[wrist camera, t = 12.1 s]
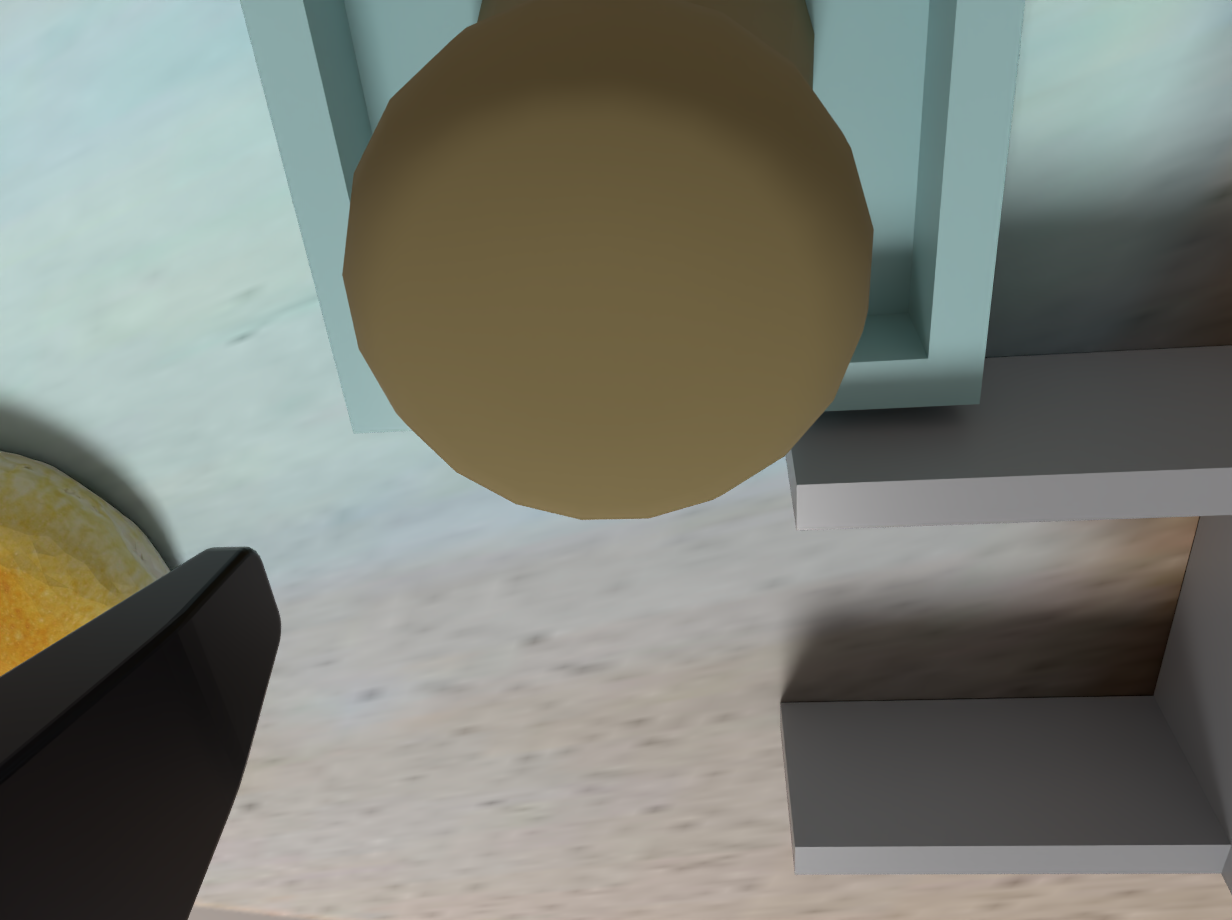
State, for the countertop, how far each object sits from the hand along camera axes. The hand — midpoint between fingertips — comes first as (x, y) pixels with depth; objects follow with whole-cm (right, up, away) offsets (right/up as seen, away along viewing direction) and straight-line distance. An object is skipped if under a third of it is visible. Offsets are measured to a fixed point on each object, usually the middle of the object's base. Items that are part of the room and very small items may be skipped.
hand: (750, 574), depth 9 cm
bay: (+8, -1, +15) cm, 17 cm away
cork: (-1, +8, +9) cm, 12 cm away
